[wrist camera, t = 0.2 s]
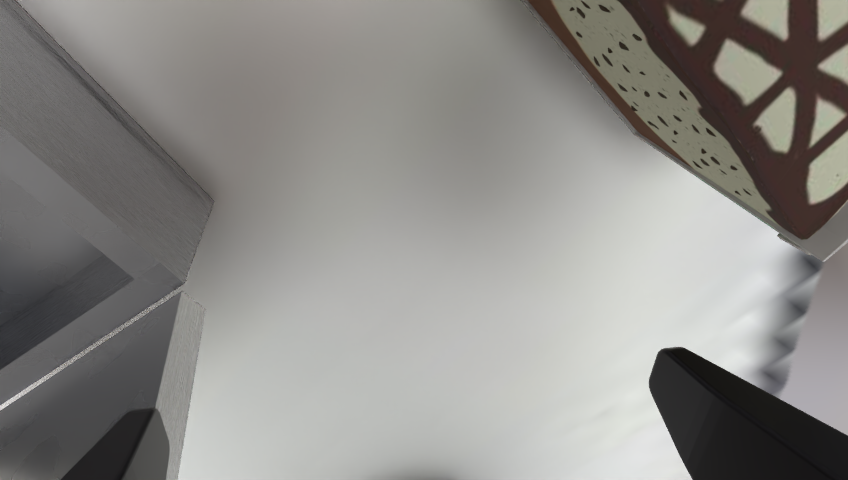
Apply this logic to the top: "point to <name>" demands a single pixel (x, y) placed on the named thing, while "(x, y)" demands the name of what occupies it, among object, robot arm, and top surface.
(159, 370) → the tabbed silver plate
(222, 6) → the top surface
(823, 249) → the food container
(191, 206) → the grey open box
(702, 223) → the top surface
